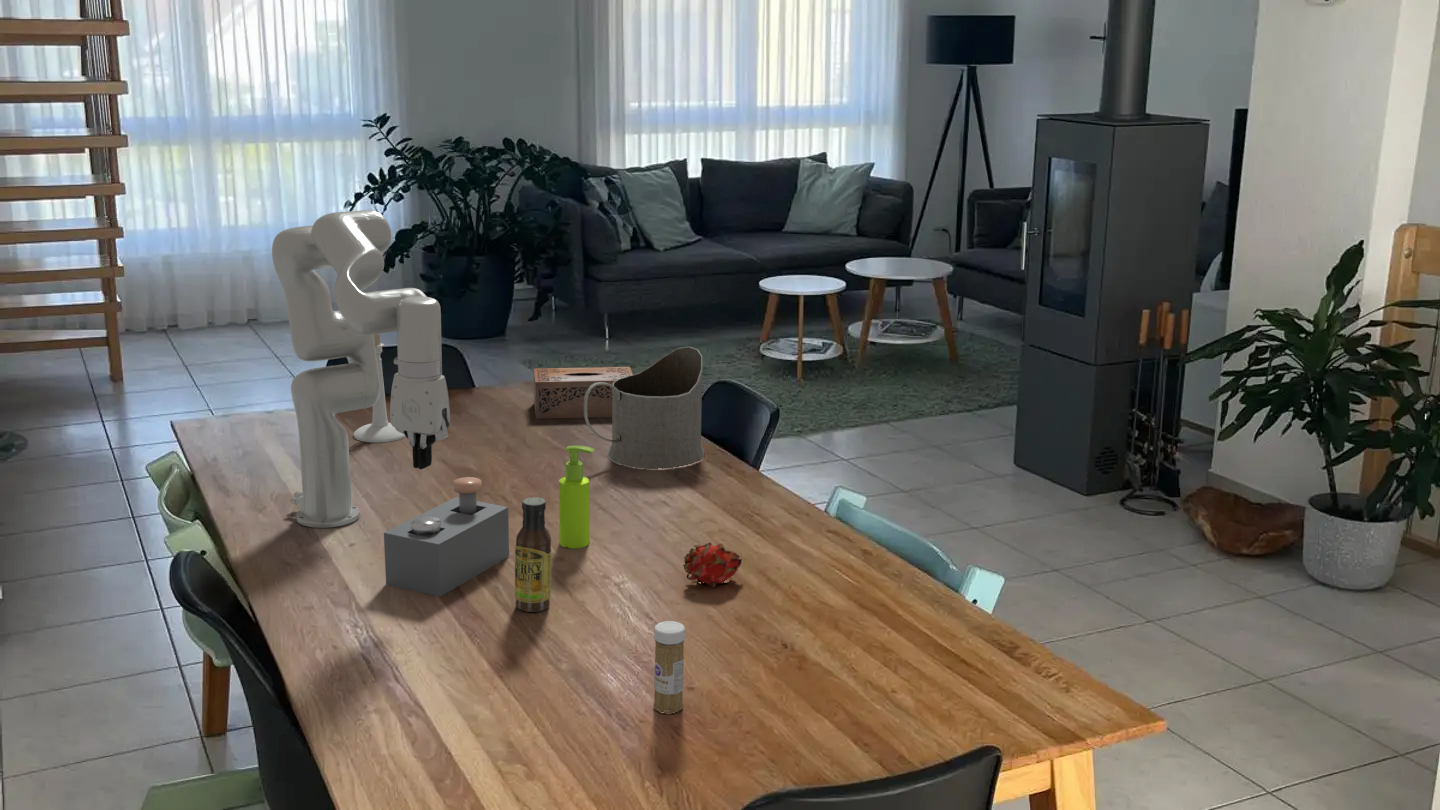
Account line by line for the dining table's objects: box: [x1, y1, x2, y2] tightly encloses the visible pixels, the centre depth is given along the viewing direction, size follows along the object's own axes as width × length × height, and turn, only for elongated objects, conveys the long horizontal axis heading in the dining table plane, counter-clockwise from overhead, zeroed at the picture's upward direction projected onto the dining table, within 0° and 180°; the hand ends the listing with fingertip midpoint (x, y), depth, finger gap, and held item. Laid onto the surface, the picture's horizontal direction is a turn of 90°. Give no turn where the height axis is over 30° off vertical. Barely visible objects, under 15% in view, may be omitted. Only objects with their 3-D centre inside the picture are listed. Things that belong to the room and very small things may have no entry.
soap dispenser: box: [558, 445, 595, 549], centre depth 269 cm, size 6×7×20 cm
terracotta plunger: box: [452, 476, 483, 515], centre depth 260 cm, size 5×5×8 cm
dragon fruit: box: [682, 542, 742, 588], centre depth 254 cm, size 8×8×12 cm
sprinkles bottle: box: [653, 620, 686, 713], centre depth 206 cm, size 5×5×13 cm
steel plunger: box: [411, 517, 441, 537], centre depth 250 cm, size 5×5×8 cm
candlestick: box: [353, 334, 407, 444], centre depth 335 cm, size 13×13×30 cm
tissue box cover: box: [533, 366, 634, 419], centre depth 364 cm, size 26×14×10 cm, turn 99°
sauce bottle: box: [514, 496, 552, 613], centre depth 240 cm, size 6×6×20 cm
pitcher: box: [583, 346, 705, 469], centre depth 323 cm, size 23×32×25 cm
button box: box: [383, 496, 510, 597], centre depth 256 cm, size 12×22×10 cm, turn 155°
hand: (422, 466), depth 246 cm, fingers closed
